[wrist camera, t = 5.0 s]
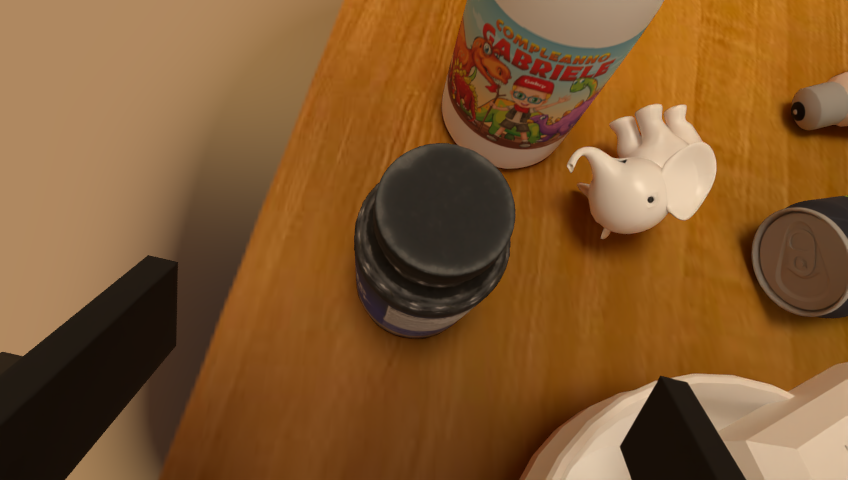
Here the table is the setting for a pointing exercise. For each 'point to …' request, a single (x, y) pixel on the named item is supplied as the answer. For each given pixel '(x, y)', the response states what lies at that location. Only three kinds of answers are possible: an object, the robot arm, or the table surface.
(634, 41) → the milk bottle
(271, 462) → the table surface
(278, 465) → the table surface
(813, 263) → the beverage can
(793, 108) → the light bulb
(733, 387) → the bowl
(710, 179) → the elephant figurine
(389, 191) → the pill bottle
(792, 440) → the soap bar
